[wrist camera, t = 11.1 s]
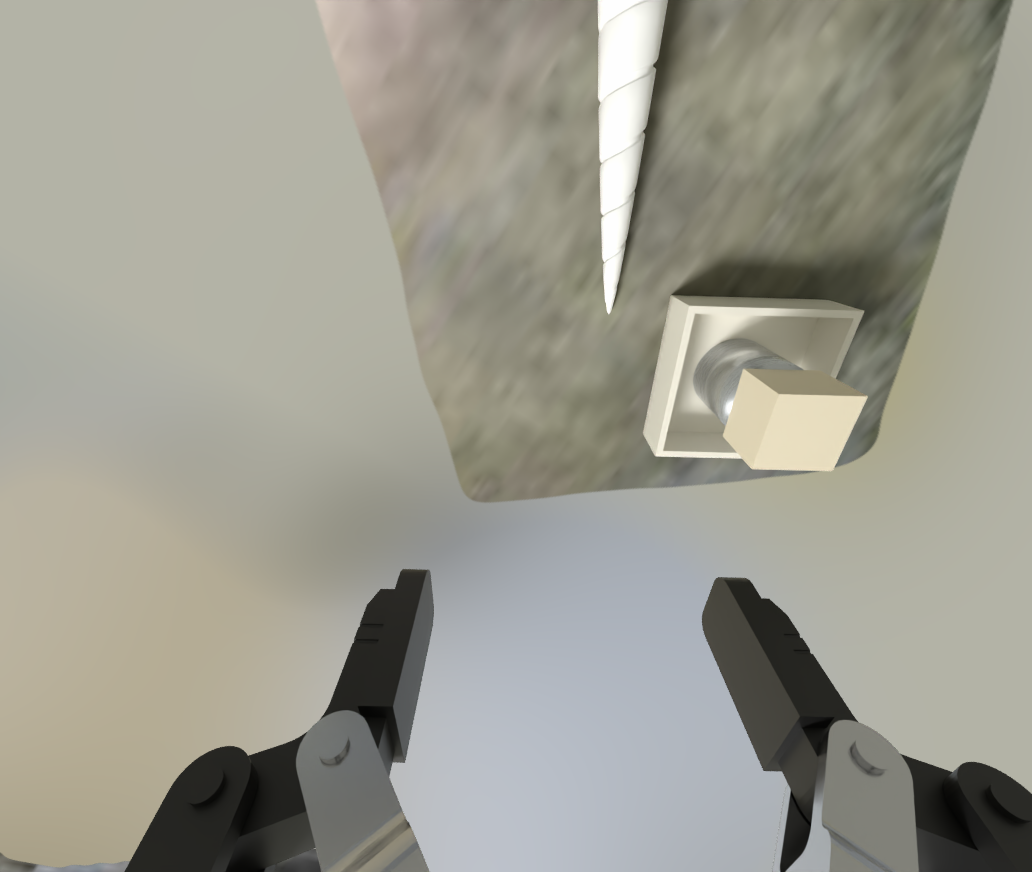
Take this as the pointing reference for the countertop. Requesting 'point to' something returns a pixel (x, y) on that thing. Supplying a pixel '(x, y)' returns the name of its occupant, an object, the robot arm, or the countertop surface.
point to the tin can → (731, 372)
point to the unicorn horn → (623, 116)
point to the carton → (791, 419)
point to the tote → (711, 320)
